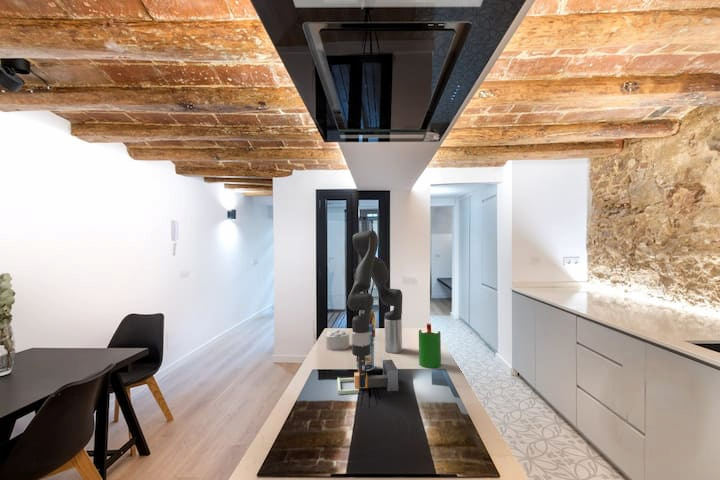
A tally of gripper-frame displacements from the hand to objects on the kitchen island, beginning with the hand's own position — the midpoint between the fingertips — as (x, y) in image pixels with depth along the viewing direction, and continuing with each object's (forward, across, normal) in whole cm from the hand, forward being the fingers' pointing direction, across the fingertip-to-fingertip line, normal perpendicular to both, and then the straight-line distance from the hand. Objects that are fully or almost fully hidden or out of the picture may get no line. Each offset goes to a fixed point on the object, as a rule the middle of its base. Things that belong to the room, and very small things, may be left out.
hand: (361, 384), depth 133 cm
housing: (+1, 0, +12) cm, 12 cm away
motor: (+1, -19, +35) cm, 40 cm away
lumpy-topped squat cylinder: (+1, -53, -8) cm, 54 cm away
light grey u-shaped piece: (+1, 0, -5) cm, 5 cm away
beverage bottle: (+1, -19, +4) cm, 20 cm away
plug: (+1, 0, +4) cm, 4 cm away
